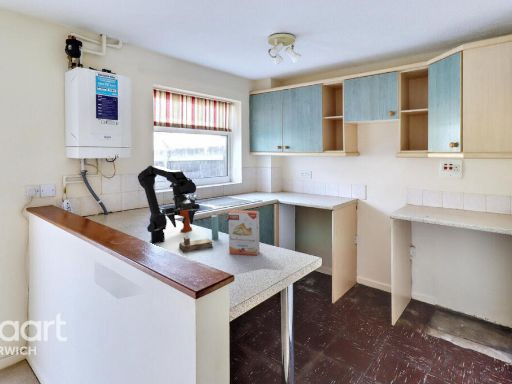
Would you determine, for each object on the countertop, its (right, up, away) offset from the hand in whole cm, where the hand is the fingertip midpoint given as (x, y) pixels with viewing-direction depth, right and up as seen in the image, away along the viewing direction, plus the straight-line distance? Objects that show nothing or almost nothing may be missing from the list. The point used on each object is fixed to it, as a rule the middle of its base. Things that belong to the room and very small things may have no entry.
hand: (183, 225), depth 164 cm
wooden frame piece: (+6, -12, +3) cm, 13 cm away
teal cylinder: (+14, -9, +19) cm, 25 cm away
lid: (+6, -9, +3) cm, 11 cm away
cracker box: (+31, -13, -7) cm, 34 cm away
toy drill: (-9, -8, +33) cm, 35 cm away
